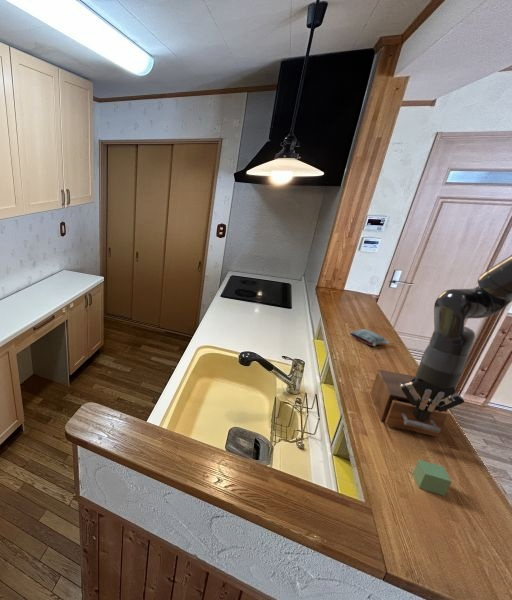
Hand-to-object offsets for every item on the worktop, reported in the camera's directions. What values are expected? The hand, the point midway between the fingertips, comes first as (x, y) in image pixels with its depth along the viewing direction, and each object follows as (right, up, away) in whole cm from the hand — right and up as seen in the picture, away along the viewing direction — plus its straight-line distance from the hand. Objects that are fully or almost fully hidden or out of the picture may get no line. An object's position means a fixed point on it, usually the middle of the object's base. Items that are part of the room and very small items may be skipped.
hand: (419, 419), depth 87 cm
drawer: (+3, -3, +7) cm, 9 cm away
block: (-9, -11, -11) cm, 18 cm away
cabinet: (+6, -2, +12) cm, 13 cm away
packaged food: (+30, +14, +55) cm, 64 cm away
